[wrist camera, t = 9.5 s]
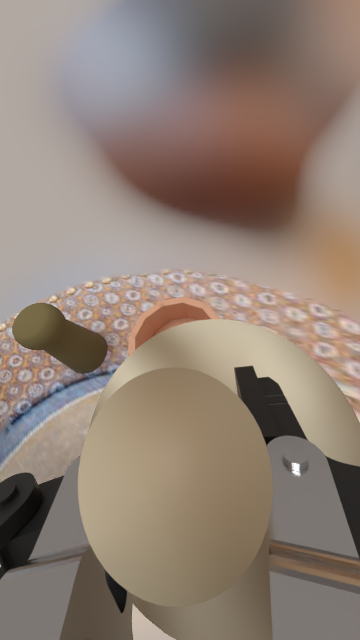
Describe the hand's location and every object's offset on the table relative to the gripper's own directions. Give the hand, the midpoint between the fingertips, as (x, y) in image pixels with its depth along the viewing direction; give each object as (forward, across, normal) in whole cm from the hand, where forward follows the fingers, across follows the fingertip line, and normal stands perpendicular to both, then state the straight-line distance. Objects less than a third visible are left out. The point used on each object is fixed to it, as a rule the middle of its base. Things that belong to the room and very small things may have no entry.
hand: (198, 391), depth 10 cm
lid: (+2, 0, +5) cm, 5 cm away
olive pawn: (+20, +18, +6) cm, 28 cm away
